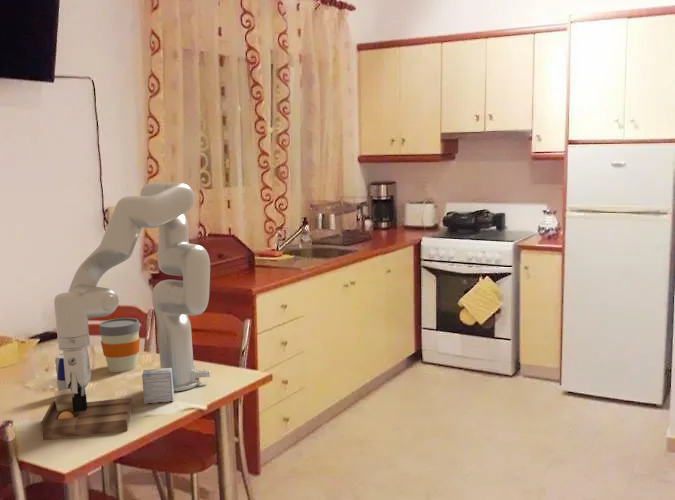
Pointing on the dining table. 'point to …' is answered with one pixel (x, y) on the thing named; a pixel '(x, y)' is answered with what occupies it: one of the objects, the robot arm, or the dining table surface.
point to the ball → (65, 415)
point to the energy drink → (60, 372)
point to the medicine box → (158, 385)
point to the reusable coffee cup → (120, 343)
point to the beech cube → (63, 399)
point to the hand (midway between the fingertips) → (80, 410)
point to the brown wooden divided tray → (88, 419)
